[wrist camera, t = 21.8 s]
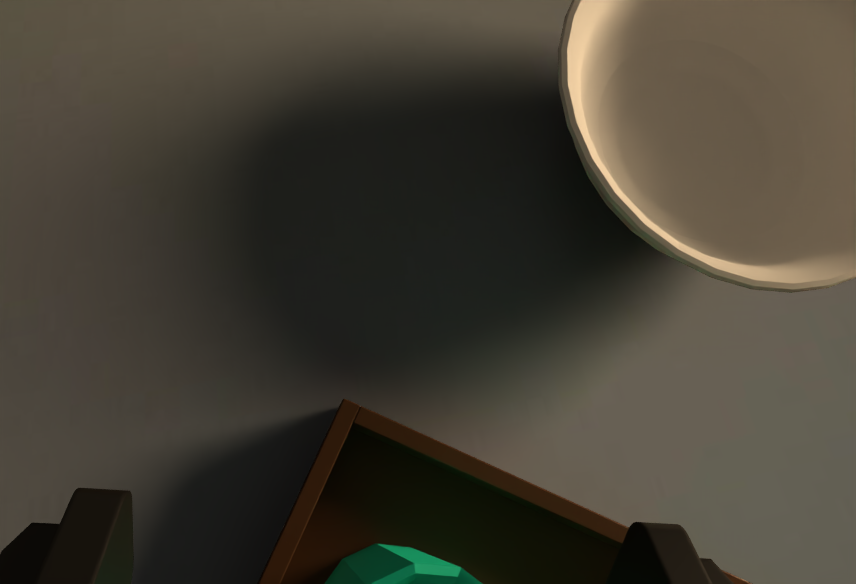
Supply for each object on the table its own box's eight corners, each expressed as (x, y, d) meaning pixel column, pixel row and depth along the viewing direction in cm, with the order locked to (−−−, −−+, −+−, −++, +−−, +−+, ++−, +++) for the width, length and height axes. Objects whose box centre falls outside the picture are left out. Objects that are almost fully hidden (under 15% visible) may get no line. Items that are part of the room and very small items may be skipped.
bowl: (890, 113, 45) (983, 54, 39) (776, 393, 39) (866, 374, 33) (612, -61, 45) (663, -147, 39) (453, 193, 39) (484, 137, 33)
